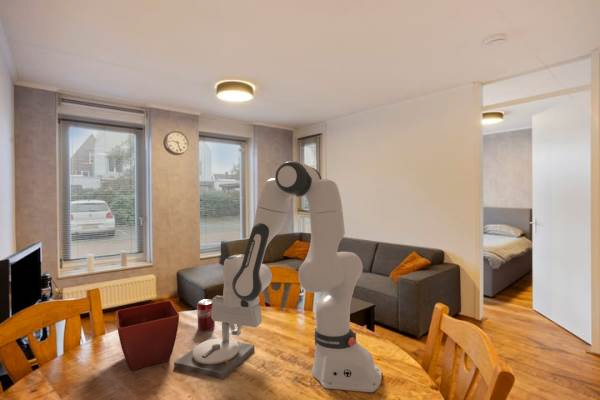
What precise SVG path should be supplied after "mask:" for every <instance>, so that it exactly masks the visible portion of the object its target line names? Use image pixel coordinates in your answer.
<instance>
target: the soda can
mask: <svg viewBox="0 0 600 400" xmlns="http://www.w3.org/2000/svg"><path fill="white" fill-rule="evenodd" d="M196 306H197V307H196V309H197V311H196V312H197V330H198V331H199V332H209V331H212V330H214V328H215V326H216V325H215V324H216V321H213V320H212V318H211V311H212V299H210V298H208V299H201V300H199V301H198V302H197V305H196Z"/></svg>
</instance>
